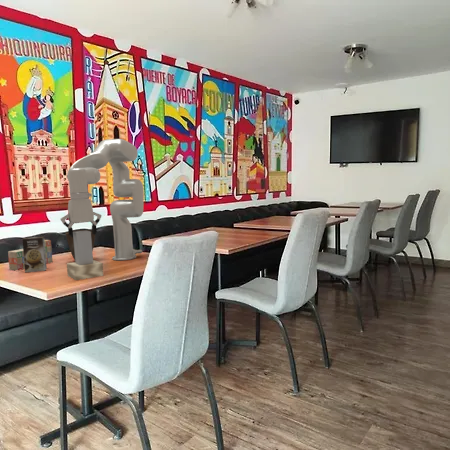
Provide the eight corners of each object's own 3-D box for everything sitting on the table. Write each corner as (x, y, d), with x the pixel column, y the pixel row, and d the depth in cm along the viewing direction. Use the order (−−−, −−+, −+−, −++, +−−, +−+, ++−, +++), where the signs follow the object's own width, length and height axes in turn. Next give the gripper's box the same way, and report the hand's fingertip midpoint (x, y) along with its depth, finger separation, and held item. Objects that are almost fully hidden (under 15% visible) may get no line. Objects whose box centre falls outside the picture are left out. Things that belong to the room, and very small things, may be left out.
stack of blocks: (17, 270, 204) (15, 245, 203) (9, 270, 207) (6, 245, 205) (52, 262, 223) (51, 239, 222) (44, 261, 226) (42, 239, 224)
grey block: (89, 261, 189) (86, 230, 188) (93, 263, 183) (90, 231, 182) (75, 263, 186) (72, 231, 185) (79, 265, 180) (76, 233, 179)
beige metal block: (94, 272, 193) (93, 259, 193) (103, 276, 184) (102, 263, 183) (67, 276, 186) (66, 263, 186) (75, 281, 177) (74, 267, 176)
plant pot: (101, 258, 228) (99, 229, 226) (90, 263, 213) (88, 232, 212) (75, 259, 229) (73, 230, 228) (62, 264, 215) (60, 233, 213)
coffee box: (24, 272, 198) (21, 239, 196) (27, 270, 204) (24, 237, 202) (45, 270, 200) (42, 237, 198) (47, 268, 206) (44, 236, 205)
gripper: (97, 195, 189) (100, 232, 191) (56, 198, 180) (60, 237, 182) (101, 195, 183) (105, 234, 185) (60, 198, 174) (64, 239, 176)
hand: (83, 235), depth 184 cm, fingers open, 9 cm apart
